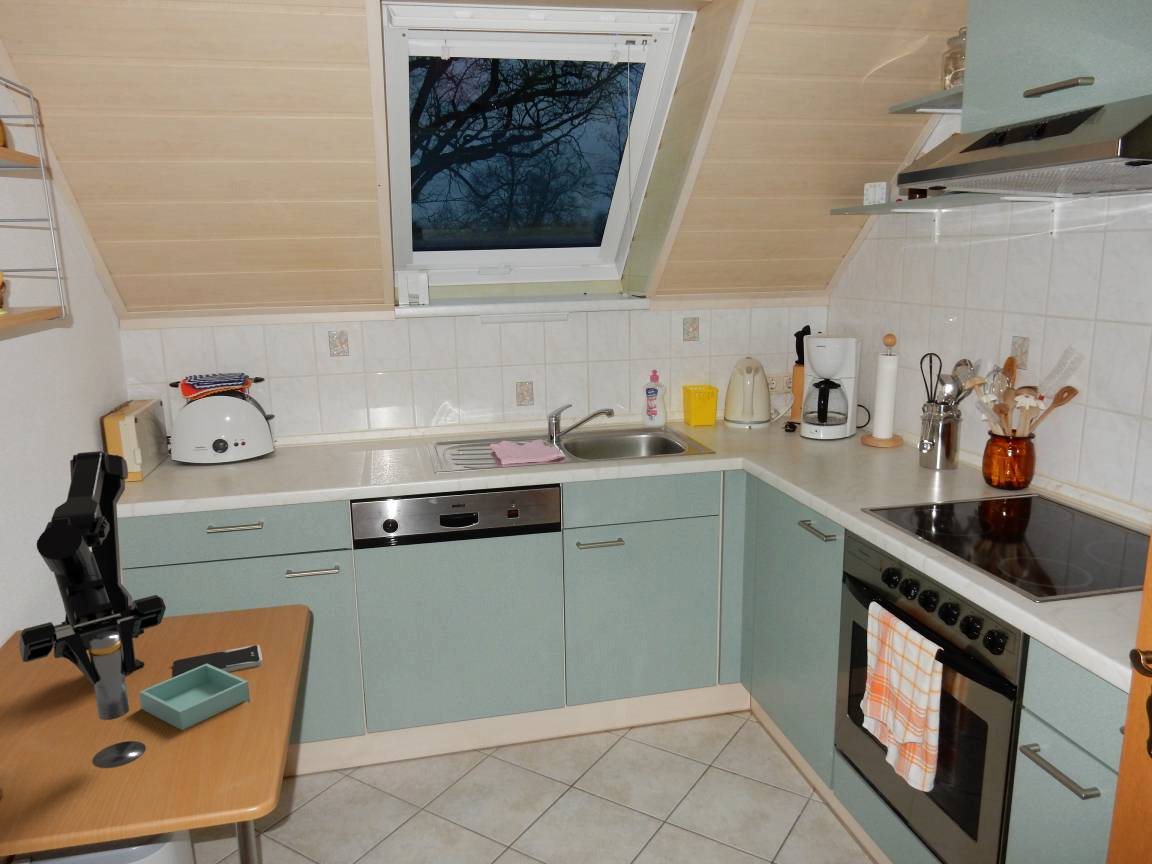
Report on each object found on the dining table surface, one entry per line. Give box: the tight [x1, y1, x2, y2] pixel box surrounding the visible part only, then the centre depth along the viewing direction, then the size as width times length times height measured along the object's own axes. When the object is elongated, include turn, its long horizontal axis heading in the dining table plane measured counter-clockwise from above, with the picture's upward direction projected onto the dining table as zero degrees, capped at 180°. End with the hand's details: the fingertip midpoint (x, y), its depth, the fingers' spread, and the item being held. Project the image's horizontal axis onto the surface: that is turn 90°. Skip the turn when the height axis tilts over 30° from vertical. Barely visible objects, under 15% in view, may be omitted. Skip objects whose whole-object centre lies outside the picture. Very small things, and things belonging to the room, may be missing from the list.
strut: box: [87, 631, 130, 721], centre depth 125 cm, size 4×4×12 cm
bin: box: [138, 664, 251, 731], centre depth 142 cm, size 12×12×4 cm
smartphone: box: [172, 644, 264, 678], centre depth 157 cm, size 8×1×15 cm
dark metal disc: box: [92, 740, 147, 769], centre depth 128 cm, size 7×7×1 cm
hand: (111, 678), depth 124 cm, fingers closed on strut, 4 cm apart
